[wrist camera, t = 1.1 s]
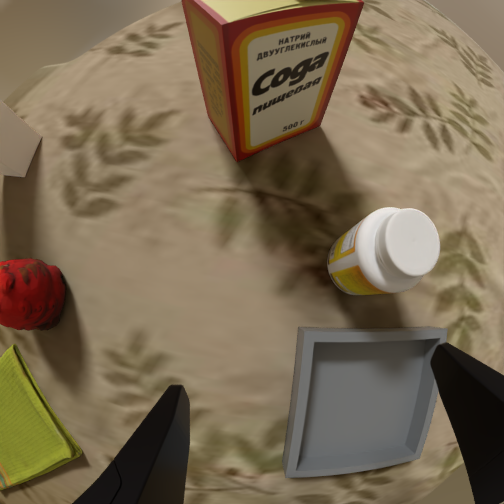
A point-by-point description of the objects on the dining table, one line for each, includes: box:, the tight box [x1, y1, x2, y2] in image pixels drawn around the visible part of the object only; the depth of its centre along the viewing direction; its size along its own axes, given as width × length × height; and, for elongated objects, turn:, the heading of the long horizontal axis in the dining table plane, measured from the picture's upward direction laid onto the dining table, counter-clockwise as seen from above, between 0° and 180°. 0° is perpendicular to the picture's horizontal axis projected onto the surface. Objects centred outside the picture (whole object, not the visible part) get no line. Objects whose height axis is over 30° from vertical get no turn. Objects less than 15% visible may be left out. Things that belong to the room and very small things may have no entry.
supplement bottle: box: [327, 207, 440, 295], centre depth 19 cm, size 6×6×10 cm
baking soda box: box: [182, 0, 364, 162], centre depth 18 cm, size 10×6×16 cm
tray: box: [282, 327, 447, 478], centre depth 20 cm, size 14×14×3 cm
